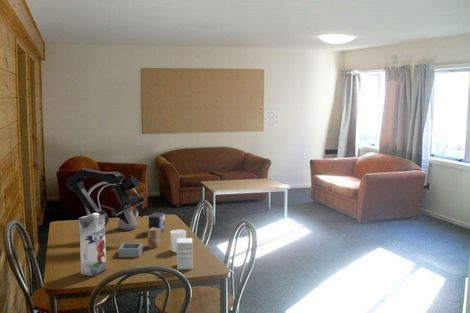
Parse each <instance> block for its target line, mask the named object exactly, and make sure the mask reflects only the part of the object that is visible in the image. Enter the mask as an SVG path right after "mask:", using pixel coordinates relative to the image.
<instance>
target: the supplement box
mask: <svg viewBox="0 0 470 313" xmlns="http://www.w3.org/2000/svg"><path fill="white" fill-rule="evenodd" d="M193 243H194V242H193V238H192V237H186V238H177V252H176V269H177V270H193V269H194V248H193V247H194V244H193Z"/></svg>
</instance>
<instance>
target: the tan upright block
mask: <svg viewBox="0 0 470 313" xmlns="http://www.w3.org/2000/svg"><path fill="white" fill-rule="evenodd" d="M160 246H162V233H161V228H151V229H149V228H148V229H147V247H148V248H153V249H155V248H156V249H157V248H158V247H160Z"/></svg>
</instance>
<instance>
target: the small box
mask: <svg viewBox="0 0 470 313" xmlns="http://www.w3.org/2000/svg"><path fill="white" fill-rule="evenodd" d="M165 214H166V213H165V212H157V211H156V212H154V213H152V214H150V215H149V216H148V230H149V229H151V228H161V234H162V233H163V232H165V227H166V226H165V225H166V224H165V223H166V221H165V220H166V218H165V217H166V215H165Z"/></svg>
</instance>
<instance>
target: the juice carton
mask: <svg viewBox="0 0 470 313" xmlns="http://www.w3.org/2000/svg"><path fill="white" fill-rule="evenodd" d="M78 224H79V225H78V226H79V229H78V230H79V249H80V251H79V253H80V254H79V256H80V258H79V259H80V273H81V275H84V276H90V277H96V276H98V275H99V274H101V273H102V272H105V271H107V253H106V252H107V250H106V249H107V248H106V238H105V230H106V227H105V215H100V214H99V213H93V214H90V213H89V214H88V215H85V216H81V217H78Z"/></svg>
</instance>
